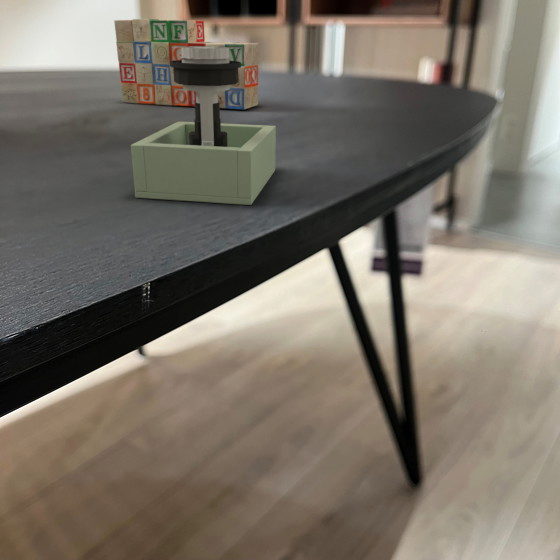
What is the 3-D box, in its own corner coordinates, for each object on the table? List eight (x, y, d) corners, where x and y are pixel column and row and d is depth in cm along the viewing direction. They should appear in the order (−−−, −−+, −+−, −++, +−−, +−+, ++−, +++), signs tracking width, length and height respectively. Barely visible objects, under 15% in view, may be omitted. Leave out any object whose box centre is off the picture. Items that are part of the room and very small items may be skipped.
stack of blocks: (259, 105, 91) (259, 21, 86) (244, 111, 85) (243, 20, 80) (141, 98, 97) (135, 18, 92) (121, 102, 92) (113, 18, 86)
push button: (180, 167, 50) (173, 44, 46) (240, 167, 51) (239, 45, 47) (174, 187, 44) (165, 48, 40) (242, 187, 45) (241, 49, 41)
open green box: (135, 197, 43) (130, 144, 42) (180, 165, 53) (177, 121, 52) (251, 205, 42) (251, 150, 40) (275, 170, 52) (276, 125, 50)
